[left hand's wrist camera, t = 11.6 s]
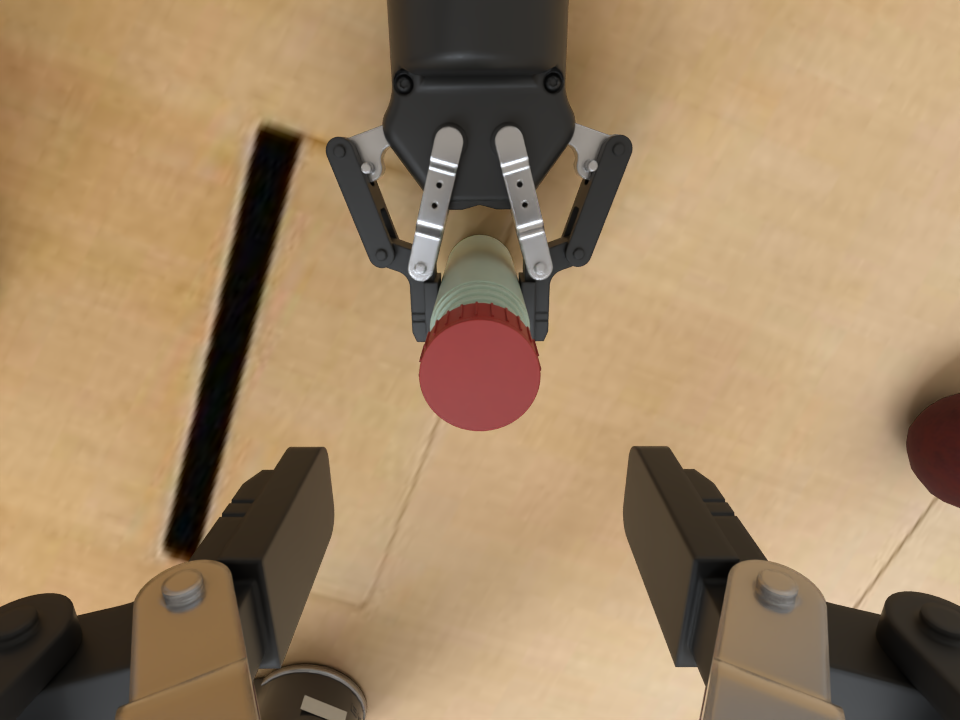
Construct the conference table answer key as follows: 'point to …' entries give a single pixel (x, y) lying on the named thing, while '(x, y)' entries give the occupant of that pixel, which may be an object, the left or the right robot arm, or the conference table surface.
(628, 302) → the conference table surface
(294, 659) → the conference table surface
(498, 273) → the bottle
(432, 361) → the cap
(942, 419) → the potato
